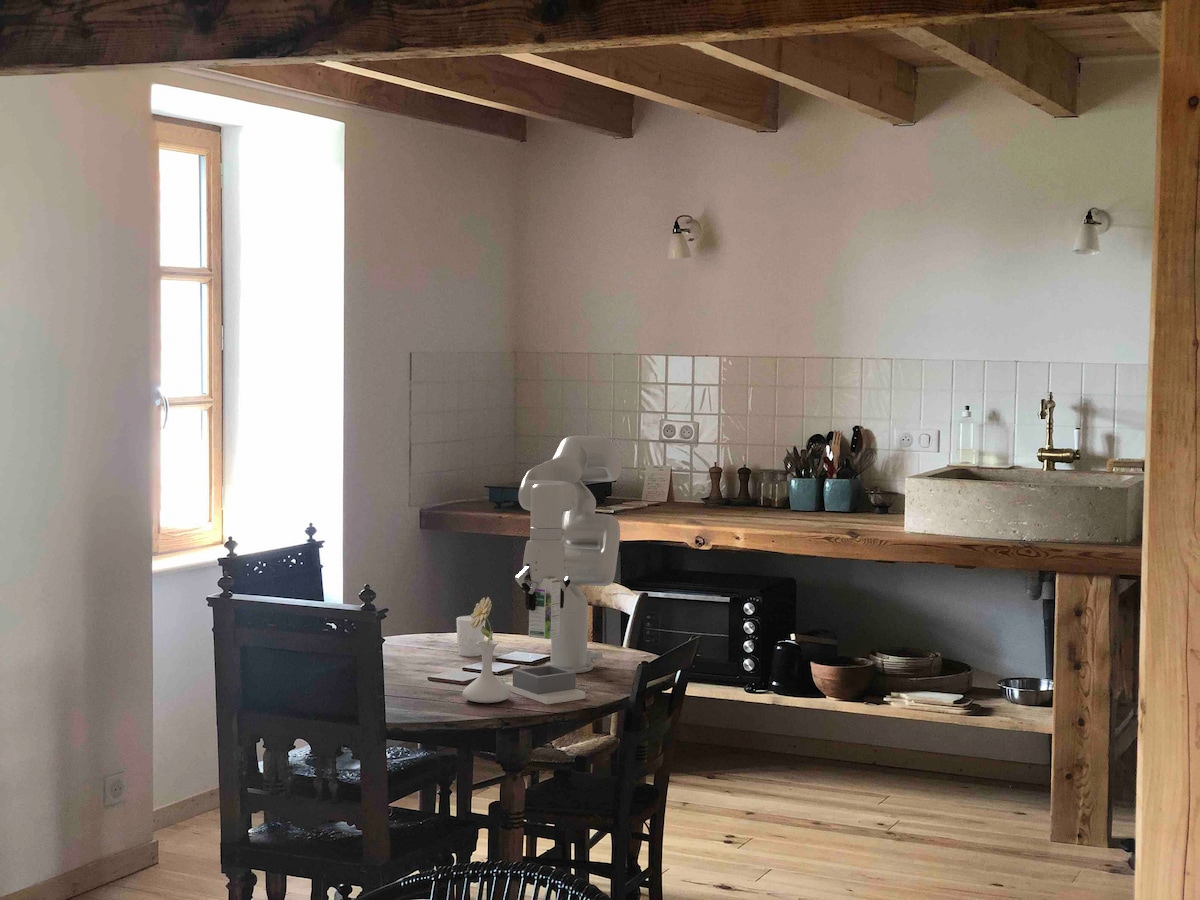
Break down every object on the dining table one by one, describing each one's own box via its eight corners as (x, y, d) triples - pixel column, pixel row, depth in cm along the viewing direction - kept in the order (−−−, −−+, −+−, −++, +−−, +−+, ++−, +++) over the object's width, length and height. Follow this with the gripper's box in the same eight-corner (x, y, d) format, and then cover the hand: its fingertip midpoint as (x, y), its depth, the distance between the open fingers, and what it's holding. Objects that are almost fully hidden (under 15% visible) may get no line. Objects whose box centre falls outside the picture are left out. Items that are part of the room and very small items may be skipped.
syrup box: (527, 637, 327) (528, 576, 327) (540, 633, 332) (541, 574, 332) (548, 639, 325) (549, 578, 324) (560, 635, 330) (561, 575, 329)
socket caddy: (541, 683, 341) (541, 661, 340) (585, 698, 325) (585, 675, 325) (503, 688, 334) (503, 666, 334) (546, 704, 319) (546, 681, 319)
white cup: (458, 657, 371) (459, 621, 370) (453, 652, 378) (454, 616, 378) (487, 656, 373) (487, 620, 372) (482, 651, 380) (482, 615, 380)
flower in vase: (462, 695, 327) (464, 591, 325) (510, 695, 327) (512, 591, 326) (461, 708, 314) (462, 600, 312) (511, 708, 314) (512, 600, 313)
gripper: (567, 532, 336) (565, 604, 336) (506, 535, 326) (505, 609, 326) (584, 534, 330) (583, 608, 330) (523, 538, 320) (522, 613, 320)
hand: (544, 608), depth 328 cm, fingers closed on syrup box, 7 cm apart
